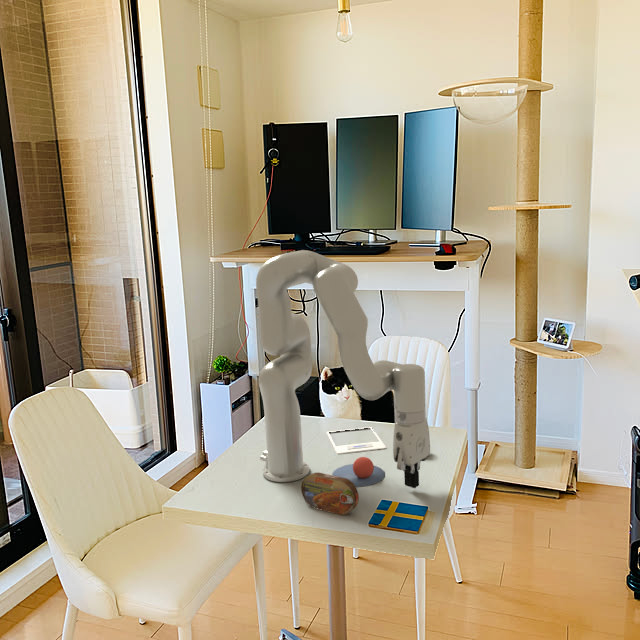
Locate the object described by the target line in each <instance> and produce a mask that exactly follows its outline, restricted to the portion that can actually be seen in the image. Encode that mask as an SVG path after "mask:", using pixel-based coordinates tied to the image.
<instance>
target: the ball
mask: <svg viewBox="0 0 640 640" xmlns="http://www.w3.org/2000/svg"><path fill="white" fill-rule="evenodd" d="M352 464H353V471H354V473H355V475H356V476H358V477H359V478H368V477H369V476H371V474H372V473H373V471H374V466H375V465H374V463H373V461H372V460H371V459H370V458H368V457H366V456H360V457H358V458H356V459H354V462H353V463H352Z"/></svg>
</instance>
